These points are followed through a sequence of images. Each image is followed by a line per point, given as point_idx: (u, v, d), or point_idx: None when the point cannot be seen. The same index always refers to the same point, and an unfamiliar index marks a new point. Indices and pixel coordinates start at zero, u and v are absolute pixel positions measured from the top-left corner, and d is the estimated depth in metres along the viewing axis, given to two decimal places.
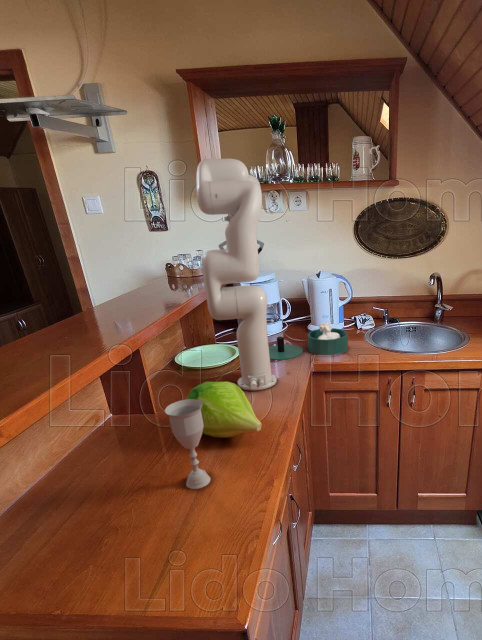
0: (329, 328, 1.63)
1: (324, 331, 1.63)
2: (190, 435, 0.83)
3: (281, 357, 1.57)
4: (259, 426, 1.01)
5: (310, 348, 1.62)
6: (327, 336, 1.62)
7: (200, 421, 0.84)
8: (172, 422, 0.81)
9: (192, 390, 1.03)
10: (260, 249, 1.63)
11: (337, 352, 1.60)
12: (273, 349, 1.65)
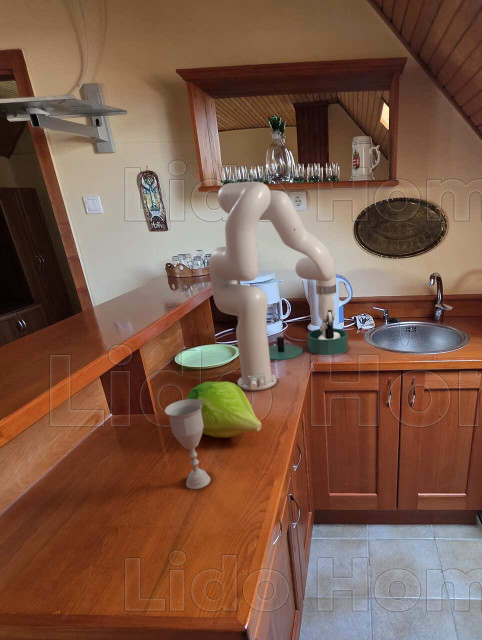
0: None
1: (324, 331, 1.63)
2: (190, 435, 0.83)
3: (281, 357, 1.57)
4: (259, 426, 1.01)
5: (310, 348, 1.62)
6: None
7: (200, 421, 0.84)
8: (172, 422, 0.81)
9: (192, 390, 1.03)
10: (328, 324, 1.57)
11: (337, 352, 1.60)
12: (273, 349, 1.65)
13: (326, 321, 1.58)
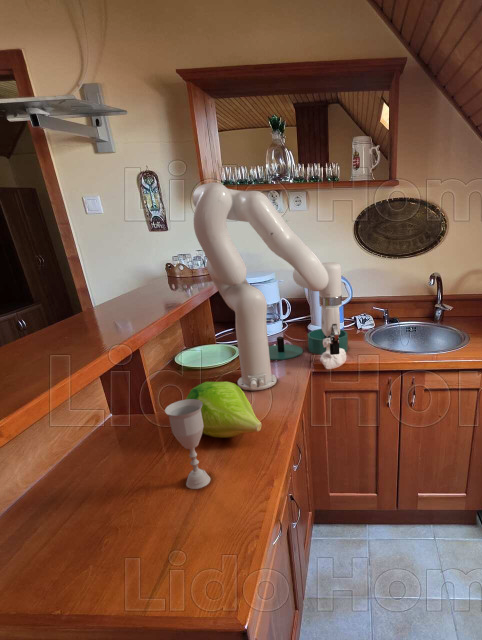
0: None
1: (328, 347, 1.47)
2: (190, 435, 0.83)
3: (281, 357, 1.57)
4: (259, 426, 1.01)
5: (310, 348, 1.62)
6: None
7: (200, 421, 0.84)
8: (172, 422, 0.81)
9: (192, 390, 1.03)
10: (333, 339, 1.39)
11: None
12: (273, 349, 1.65)
13: (330, 335, 1.41)
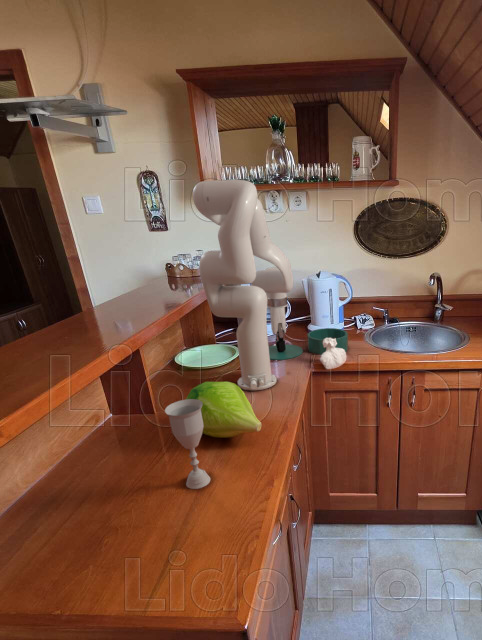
0: (334, 344, 1.47)
1: (328, 347, 1.47)
2: (190, 435, 0.83)
3: (281, 357, 1.57)
4: (259, 426, 1.01)
5: (310, 348, 1.62)
6: (332, 353, 1.46)
7: (200, 421, 0.84)
8: (172, 422, 0.81)
9: (192, 390, 1.03)
10: (278, 337, 1.56)
11: None
12: (273, 349, 1.65)
13: (277, 334, 1.57)
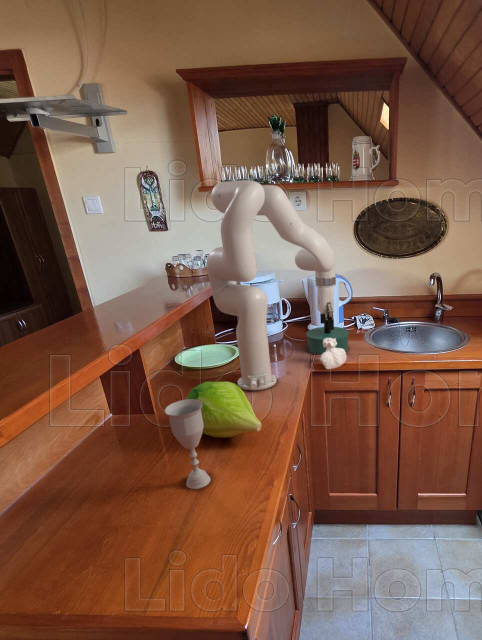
0: (334, 344, 1.47)
1: (328, 347, 1.47)
2: (190, 435, 0.83)
3: (330, 337, 1.58)
4: (259, 426, 1.01)
5: (310, 348, 1.62)
6: (332, 353, 1.46)
7: (200, 421, 0.84)
8: (172, 422, 0.81)
9: (192, 390, 1.03)
10: (328, 315, 1.54)
11: None
12: (319, 331, 1.66)
13: (326, 312, 1.56)
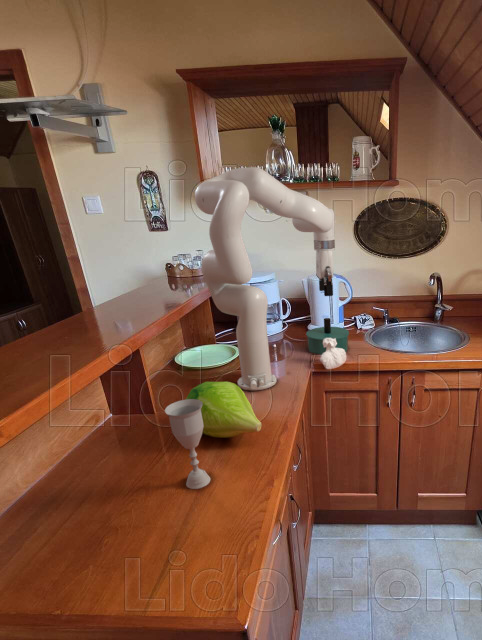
0: (334, 344, 1.47)
1: (328, 347, 1.47)
2: (190, 435, 0.83)
3: (330, 337, 1.58)
4: (259, 426, 1.01)
5: (310, 348, 1.62)
6: (332, 353, 1.46)
7: (200, 421, 0.84)
8: (172, 422, 0.81)
9: (192, 390, 1.03)
10: (327, 280, 1.48)
11: None
12: (319, 331, 1.66)
13: (324, 277, 1.50)
